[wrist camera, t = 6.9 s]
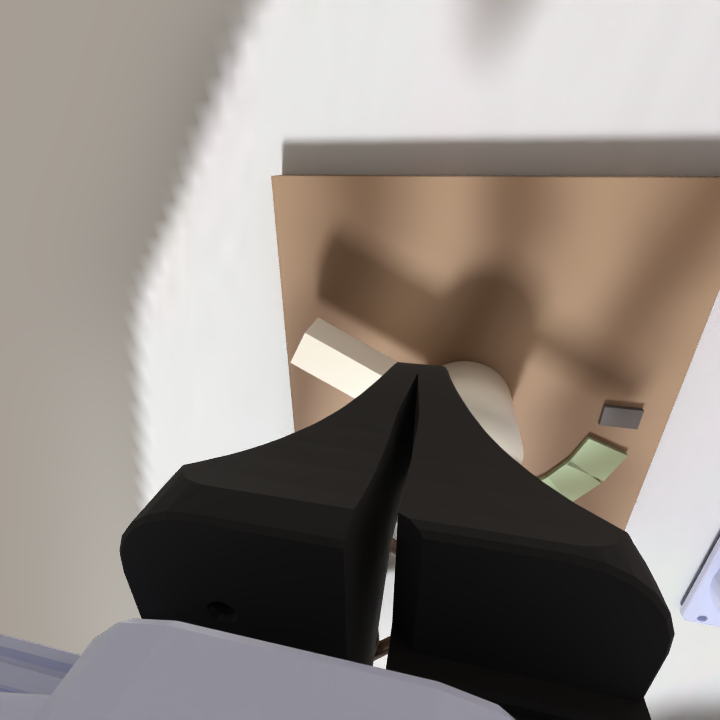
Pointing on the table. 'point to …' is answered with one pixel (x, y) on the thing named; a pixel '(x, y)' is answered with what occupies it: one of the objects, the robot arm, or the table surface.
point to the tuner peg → (366, 365)
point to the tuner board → (515, 301)
